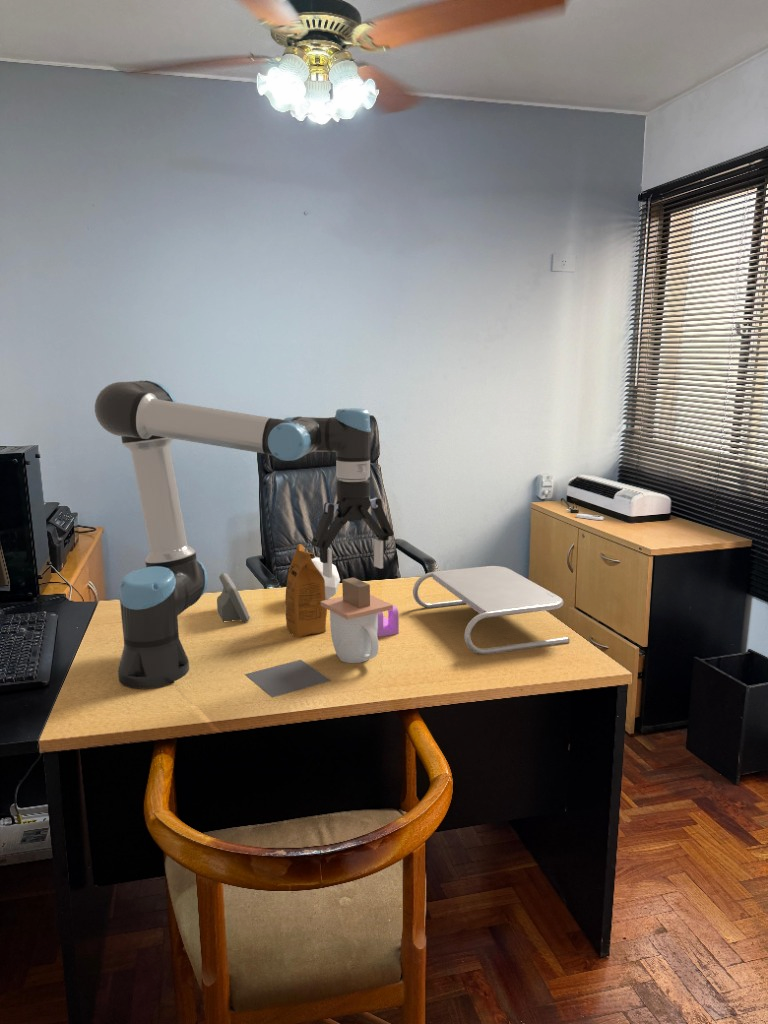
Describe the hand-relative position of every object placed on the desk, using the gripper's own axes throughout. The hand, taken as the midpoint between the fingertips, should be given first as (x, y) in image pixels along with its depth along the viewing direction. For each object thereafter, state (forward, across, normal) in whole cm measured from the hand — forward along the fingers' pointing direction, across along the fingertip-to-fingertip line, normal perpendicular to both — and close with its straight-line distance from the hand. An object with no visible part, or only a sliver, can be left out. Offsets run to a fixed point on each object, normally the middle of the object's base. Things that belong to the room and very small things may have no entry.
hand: (353, 571), depth 163 cm
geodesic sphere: (+22, +15, +44) cm, 51 cm away
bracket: (+22, +17, +15) cm, 32 cm away
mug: (+22, +1, 0) cm, 22 cm away
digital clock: (+22, -10, +46) cm, 52 cm away
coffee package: (+22, +1, +24) cm, 33 cm away
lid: (+8, 0, 0) cm, 8 cm away
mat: (+22, -17, 0) cm, 28 cm away
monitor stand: (+22, +41, 0) cm, 46 cm away
